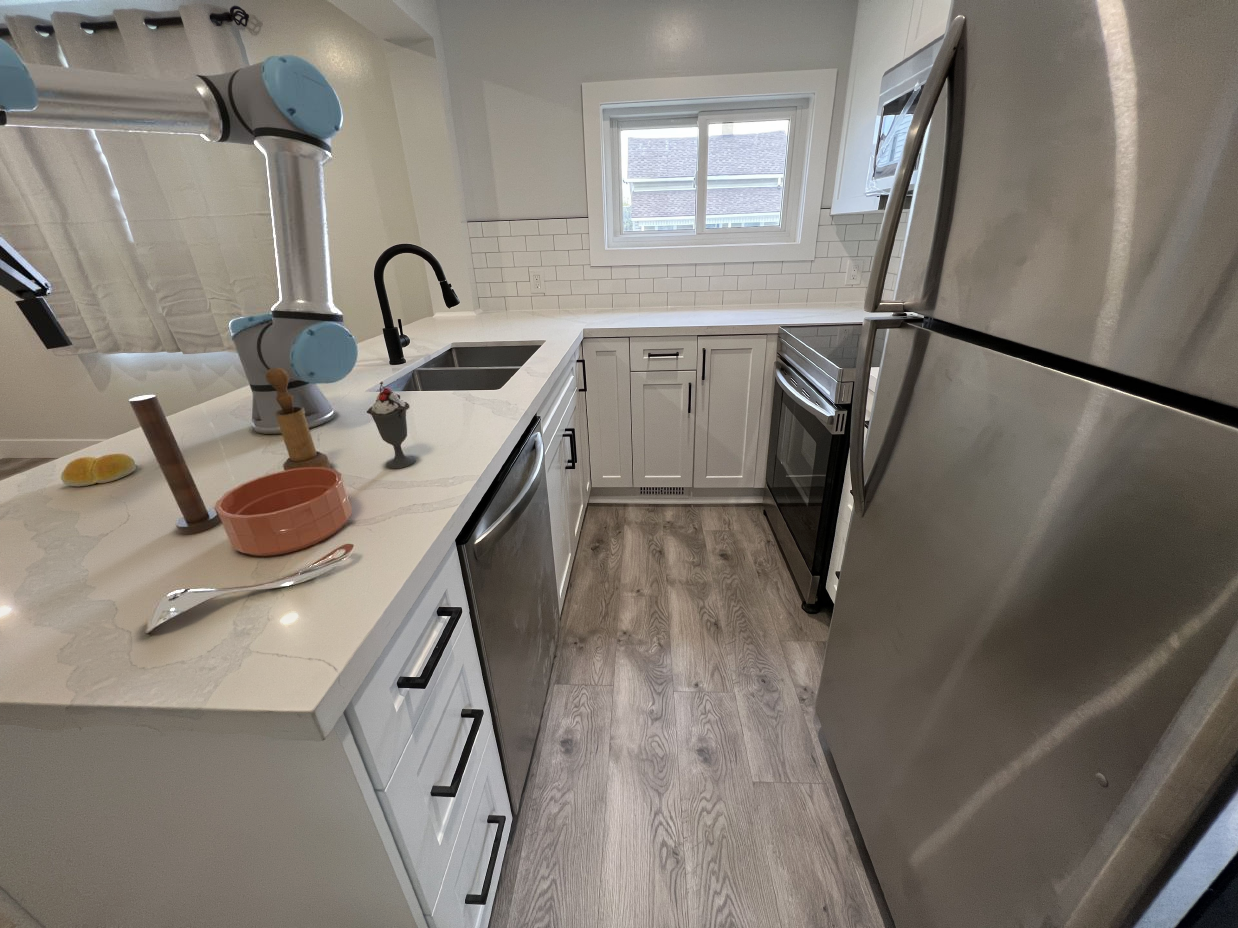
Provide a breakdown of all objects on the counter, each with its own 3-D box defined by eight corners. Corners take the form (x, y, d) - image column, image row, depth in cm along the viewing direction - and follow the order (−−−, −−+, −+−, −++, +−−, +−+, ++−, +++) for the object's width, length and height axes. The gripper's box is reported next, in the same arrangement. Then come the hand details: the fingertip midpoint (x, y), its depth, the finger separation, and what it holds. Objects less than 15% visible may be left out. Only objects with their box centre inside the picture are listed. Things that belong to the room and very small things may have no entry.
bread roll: (130, 479, 85) (119, 458, 83) (60, 492, 81) (47, 470, 80) (145, 462, 92) (136, 442, 90) (81, 473, 88) (70, 452, 86)
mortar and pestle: (310, 482, 81) (274, 374, 73) (277, 480, 82) (238, 373, 75) (339, 465, 87) (308, 363, 79) (307, 463, 88) (274, 363, 81)
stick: (191, 518, 72) (133, 394, 64) (228, 514, 72) (175, 390, 65) (170, 536, 67) (106, 405, 59) (210, 531, 68) (151, 401, 60)
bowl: (262, 509, 73) (248, 473, 71) (364, 497, 75) (354, 462, 73) (209, 566, 60) (189, 524, 58) (334, 550, 63) (320, 508, 60)
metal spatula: (345, 523, 61) (351, 539, 57) (354, 546, 62) (361, 564, 59) (136, 597, 51) (128, 623, 48) (153, 623, 53) (147, 650, 49)
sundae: (397, 474, 83) (375, 386, 76) (372, 466, 86) (349, 381, 80) (429, 459, 88) (411, 376, 81) (405, 452, 91) (386, 372, 85)
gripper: (-48, 180, 64) (59, 342, 74) (-320, 162, 42) (-117, 395, 52) (19, 173, 65) (116, 334, 75) (-213, 152, 43) (-34, 382, 53)
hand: (21, 359), depth 64 cm, fingers open, 13 cm apart
